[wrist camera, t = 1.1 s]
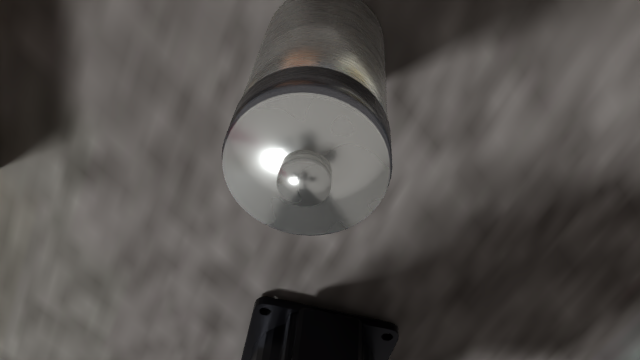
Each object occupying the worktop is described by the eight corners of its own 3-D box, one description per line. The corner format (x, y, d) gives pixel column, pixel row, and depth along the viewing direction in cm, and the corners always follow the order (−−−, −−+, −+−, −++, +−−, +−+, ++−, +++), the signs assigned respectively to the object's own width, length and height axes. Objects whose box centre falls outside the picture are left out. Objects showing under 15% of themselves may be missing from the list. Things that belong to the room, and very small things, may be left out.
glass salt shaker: (366, 112, 20) (365, 265, 14) (255, 85, 20) (206, 231, 14) (401, 3, 18) (417, 131, 12) (276, -28, 18) (227, 86, 12)
